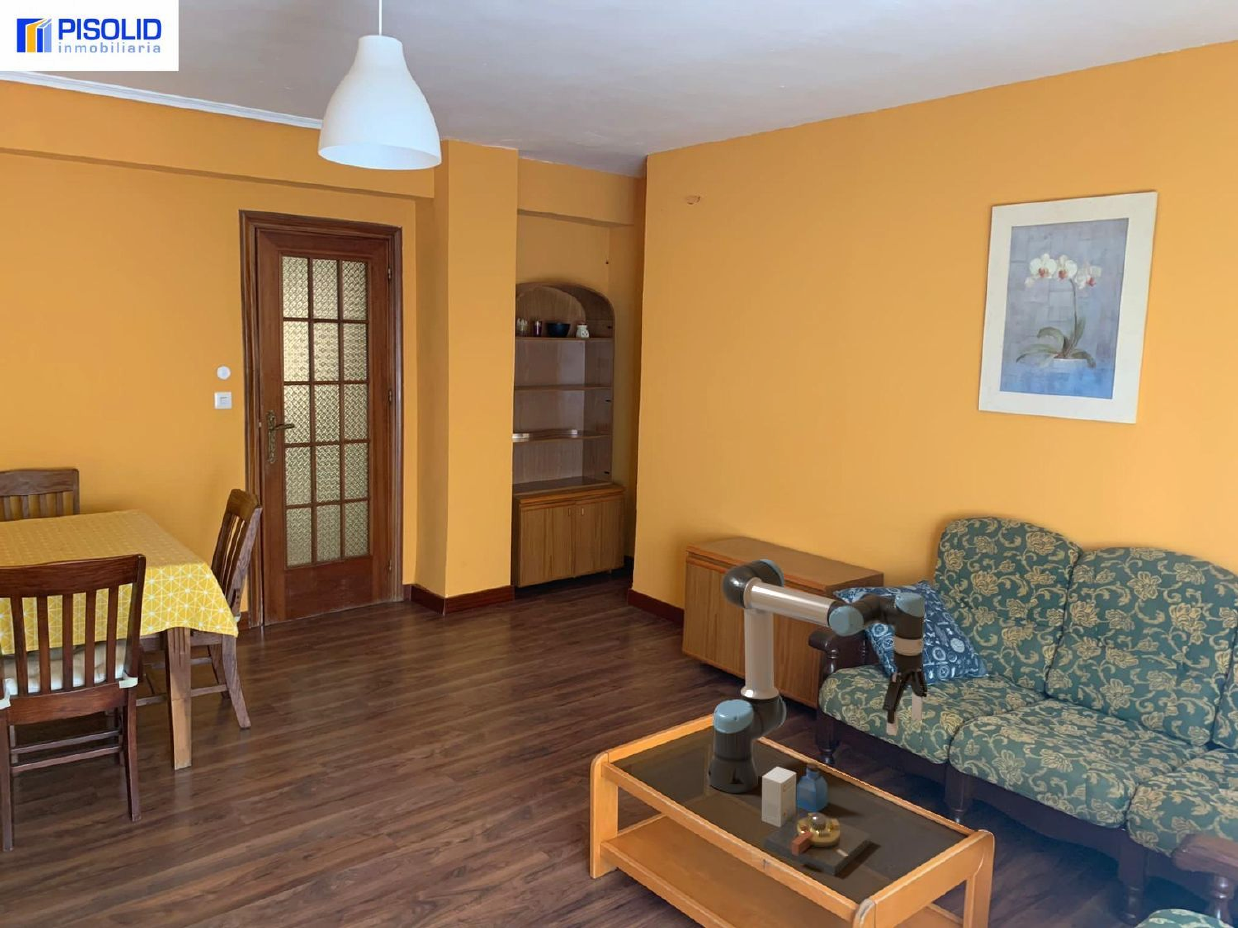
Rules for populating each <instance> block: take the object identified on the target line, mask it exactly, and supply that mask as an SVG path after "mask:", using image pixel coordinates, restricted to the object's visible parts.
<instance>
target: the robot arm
mask: <svg viewBox="0 0 1238 928" xmlns="http://www.w3.org/2000/svg"><path fill="white" fill-rule="evenodd" d="M721 579H722V580H721V581H720V582H721V584H720V589H721V593H722V596H723V597H724V598H725V600H726V601H727V602H728V603H729V604H731V605H732V606H734V607H738V608H741V609H742V610H743V611H744V612H743V613H744V614H743V615H744V616H743V617H744V655H745V656H744V661H745V662H744V666H745V667H744V670H745V671H744V672H745V686H743V687H742V688H741V690H740V699H732V700H730V699H728V700H725V701H722V702H720V703H719V704H718V705H717V706H716V707H715V709H714V710H713V711H714V713H713V719H712V725H713V739H712V740H713V741H712V742H713V745H712V749H713V750H712V751H713V752H712V754H713V755H712V757H711V760H710V763H709V766H708V769H707V772H706V780H707V779H708V781H709V783H710V784H711V785H713V786H714V787H715V788H717V789H719V790H718V791H720V790H723V791H722V792H724V791H725V793H731V794H732V793H733V794H735V793H737V794H739V793H740V794H741V793H746V792H747V793H748V792H749V791H751V790H752V791H753V789H755V788H757V786H758V783H759V774H758V772H757V768H756V764H755V761H754V757H753V747H754V746H753V743H754V742H755V741H757V740H758V739H760V738H763V737H765V736H767V735H768V734H772V733H774V732H775V731H776V730H778V728H780V727H781V726H782V725H783V723H784V722H785V720H786V717H787V706H786V702H785V701H783V698H782V696H781V695H780V691H779V689H777V688H776V687H775V684H774V683H775V679H774V678H775V677H774V676H775V675H774V674H775V673H774V671H775V670H774V614H777V615H781V616H785V617H788V618H789V617H790V618H793V619H796V620H800V621H804V622H808V623H812V624H816V625H819V626H823V627H827V628H830V629H831V630H832V631H833V632H834V633H836V634H837V635H838V636H841V637H847V636H853V635H856V634H858V633H859V632H861V631H863V630H865V629H867V628H869V627H872V626H873V625H874V626H875V625H876V624H879V625H885V626H889V627H893V644H892V645H893V647H892V648H893V651H892V663H893V665H894V666H895V667H896V668H897V669H896V673H893V672H891V673H890V676H889V683H888V686H887V690H886V693H885V698H884V700H883V701H884V702H883V704H882V710H883V711H885V712H886V713H887V714H886V733H887V734H888V735H891V736H897V735H898V724H899V723H898V722H899V721H898V720H899V711H897V710H898V707H899V705H900V703H901V700H902V697H903V694H904V692H905V691H906V690H907V689H908V687H909V686H910V688H911V690H912V692H913V695H912V698H911V699H912V700H911V719H913V720H916V721H919V722H921V721H923V720H922V719H923V702H924V698H927V697H928V686H927V680H926V675H925V672H924V663H923V653H922V652H923V649H924V648H923V647H924V645H925V643H924V629H925V628H924V625H925V615H926V611H925V598H924V597H923V596H922V595H920V594H918V593H915V592H907V591H906V592H899V593H897V594H896V595H895V597H894V598H893V597H889V596H884V595H880V594H875V593H872V592H863V591H860V592H857V593H856V594H855V595H854V596H853V598H852V600H851V602H845V601H841V600H837V599H832V598H828V597H825V596H821V595H816V594H813V593H808V592H804V591H798V590H797V589H795V590H794V589H791V588H787V587H785V585H786V581H785V579H786V578H785V575H784V573H783V570H782V569H781V567H780V566H778V564H777V563H776V562H774V561H773V560H770V559H764V558H762V559H755V560H752V561H749V562H746V563H743V564H740V565H736V566H734V567H731V568H729V569H728V570H727V571H726V572H725V574H724V575H723V577H722V578H721ZM709 783H708V784H709ZM715 788H714V789H715ZM717 789H716V790H717Z"/></svg>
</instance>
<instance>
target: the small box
mask: <svg viewBox="0 0 1238 928" xmlns="http://www.w3.org/2000/svg"><path fill="white" fill-rule="evenodd" d="M761 778H762V779H761V781H762V782H761V785H762V786H761V821H762V822H765V823H766V824H769V825H771V826H774V827H777V828H780V827H781V826H782V825H784V824H785V823H786V822H788V821H789V820H790V819H792V818H793V817H794V816H796V813H797V811H796V810H797V809H796V807H797V806H796V803H797V773H796V772H795V771H792V770H789V769H787V768H784V767H779V766H775V767H774V768H772V769H771V770H770V771H768V772H766V774H764V775H763V776H762V777H761Z"/></svg>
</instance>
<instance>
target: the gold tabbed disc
mask: <svg viewBox="0 0 1238 928" xmlns="http://www.w3.org/2000/svg"><path fill="white" fill-rule="evenodd" d="M813 814H815V813H808V817H805V818H803V819H801V820H800V821H798V823H797V836H798V837H797V838H796V839H795V840H793V841H792V846H791V853H792V854H795V855H797V856H799V855H800V854H801V853H803V852H804V851H805V850H806V849H807V848H809V847H810V846H816V847H830V846H833V845H835V844H837V843H838V842H839V841H840V825H839V823H838V822H839V821H838V820H837V818H829V819H828V817H826V828H825V829H822V830H818V829H815V828H813V827H812V815H813Z"/></svg>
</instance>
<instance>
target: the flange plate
mask: <svg viewBox="0 0 1238 928" xmlns="http://www.w3.org/2000/svg"><path fill="white" fill-rule="evenodd" d="M808 813H813V812H811V811H808V810H806V809H802V810H801V811H799V812H798V813H797V814H795V816H794V817H793V818H792V819H790V820H789V821H788V822H786V823H785V824H784V825H782V826H781V827H777V829H776V830H775V831H773V832H772V833H770V834H769V835H768V836H767V837H765V838H764V848H765V849H767V850H769V851H773V852H774V853H777V854H780V855H782V856H784V857H787V858H789V859H792V860H794V861H796V862H799V863H801V864H804V865H805V866H809V867H811V868H813V869H815V870H818V871H820V872H822V873H825V874H828V875H830V876H833V877H835V876H837V874H839V873H840V872H841V871H842V870H843V869H845V867H846V866H848V864H849V863H851V862H852V861H853V860H854V859H855V858H856V857H858V856H859V855H860V854H861V853H862V852H863V851H864V850H865V849H867V847H868V846H870V845H871V844H872V834H871V833H869V832H866V831H863V830H861V829H858V828H855V827H853V826H850V825H848V824H846V823H845V824H844V823H842V822H840V821H838V823H839V825H840V841H839V842H838V843H837V844H835V845H833V846H830V847H816V846H810V847H809V848H807V849H806V850H805V851H804V852H803V853H801V854H800V855H799V856H797V855H795V854H792V853H791V846H792V841H793V840H795V839H796V838H797V837H798V836H797V823H798V821H800V820H801V819H803V818H805V817H808ZM826 818H828V817H827V816H826V814H823V813H821V812H817V813H815V814H813V815H812V827H813V828H815V829H818V830H822V829H825V828H826ZM828 819H830V818H828Z"/></svg>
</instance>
